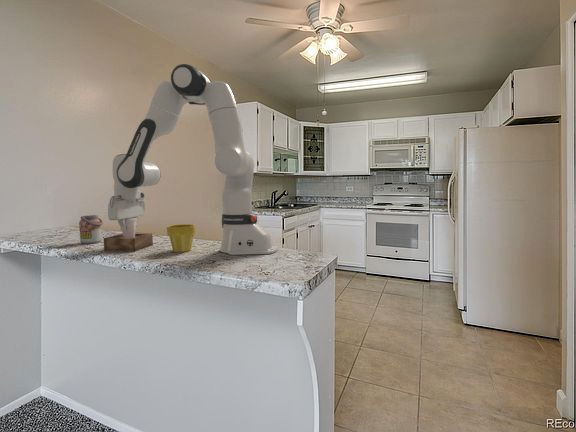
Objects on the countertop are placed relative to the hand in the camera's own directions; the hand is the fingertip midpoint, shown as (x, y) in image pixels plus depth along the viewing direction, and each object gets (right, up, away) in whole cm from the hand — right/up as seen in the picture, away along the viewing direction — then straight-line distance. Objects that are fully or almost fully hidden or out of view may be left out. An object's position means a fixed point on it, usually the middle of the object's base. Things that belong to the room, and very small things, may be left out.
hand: (128, 228), depth 132 cm
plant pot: (+23, -8, -5) cm, 25 cm away
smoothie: (0, -6, +1) cm, 6 cm away
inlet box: (0, -8, +1) cm, 8 cm away
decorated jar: (-23, -7, +14) cm, 28 cm away
